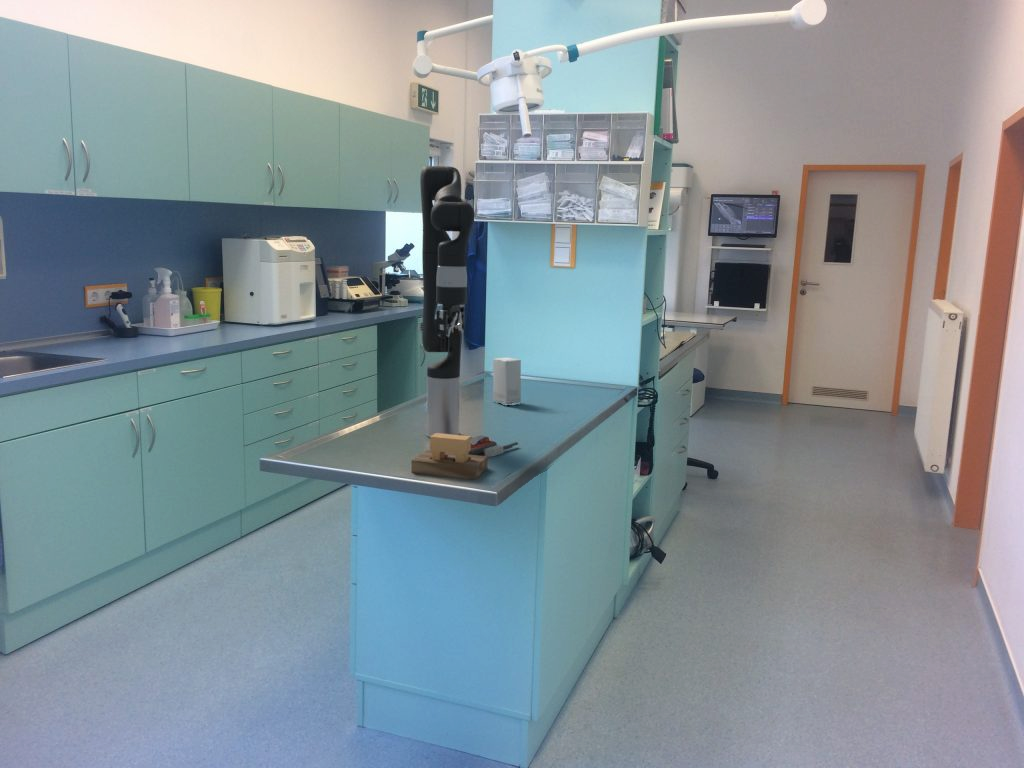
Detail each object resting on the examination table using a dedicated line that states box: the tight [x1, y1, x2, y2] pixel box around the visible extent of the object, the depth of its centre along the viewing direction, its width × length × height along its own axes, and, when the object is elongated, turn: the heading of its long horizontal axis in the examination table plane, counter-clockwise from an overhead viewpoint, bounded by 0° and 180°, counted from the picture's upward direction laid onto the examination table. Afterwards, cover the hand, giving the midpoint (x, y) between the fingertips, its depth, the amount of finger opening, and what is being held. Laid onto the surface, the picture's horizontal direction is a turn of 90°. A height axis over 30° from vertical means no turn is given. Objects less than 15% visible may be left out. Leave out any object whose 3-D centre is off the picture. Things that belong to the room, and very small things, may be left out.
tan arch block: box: [429, 433, 472, 463], centre depth 196 cm, size 4×9×8 cm, turn 74°
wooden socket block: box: [411, 449, 489, 480], centre depth 197 cm, size 10×16×3 cm, turn 74°
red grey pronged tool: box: [468, 435, 519, 458], centre depth 214 cm, size 9×4×20 cm
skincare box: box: [492, 356, 522, 404], centre depth 277 cm, size 8×7×16 cm
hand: (450, 349), depth 203 cm, fingers open, 8 cm apart
